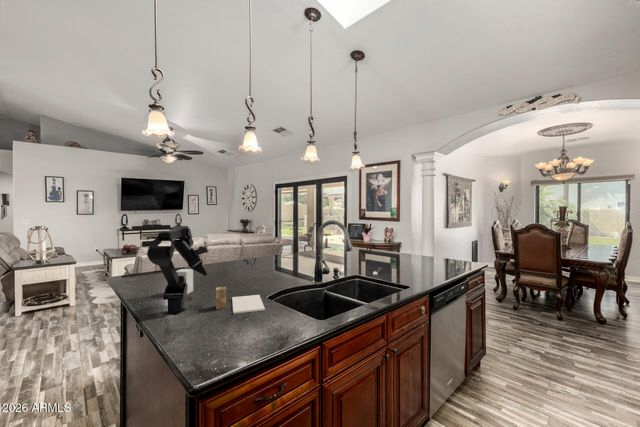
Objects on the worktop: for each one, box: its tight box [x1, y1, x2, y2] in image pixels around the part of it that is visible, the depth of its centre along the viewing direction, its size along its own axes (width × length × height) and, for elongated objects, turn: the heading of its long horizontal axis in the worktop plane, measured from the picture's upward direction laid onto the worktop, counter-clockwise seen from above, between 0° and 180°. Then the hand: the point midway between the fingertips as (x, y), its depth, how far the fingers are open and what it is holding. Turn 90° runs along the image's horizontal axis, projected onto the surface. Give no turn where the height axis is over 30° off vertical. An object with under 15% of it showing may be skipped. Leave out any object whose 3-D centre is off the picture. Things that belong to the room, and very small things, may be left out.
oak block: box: [215, 286, 227, 310], centre depth 133 cm, size 4×4×9 cm
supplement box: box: [176, 268, 194, 295], centre depth 155 cm, size 7×7×13 cm
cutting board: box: [231, 294, 266, 314], centre depth 137 cm, size 14×22×1 cm, turn 19°
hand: (206, 274), depth 137 cm, fingers open, 9 cm apart
